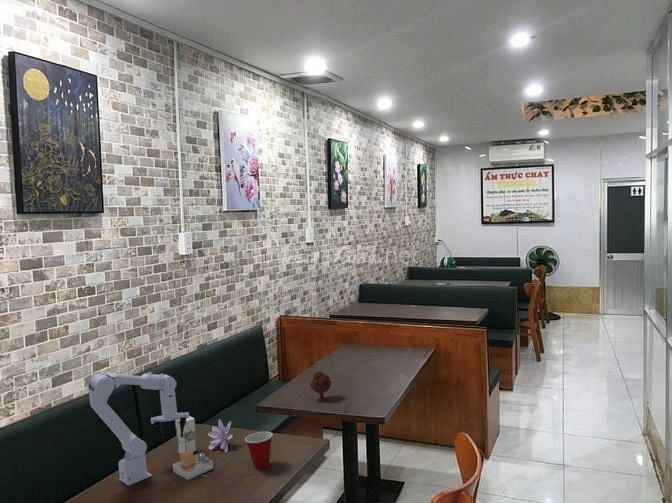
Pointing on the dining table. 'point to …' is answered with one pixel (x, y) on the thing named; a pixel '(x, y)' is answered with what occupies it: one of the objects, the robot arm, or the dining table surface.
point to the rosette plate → (194, 467)
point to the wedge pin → (187, 459)
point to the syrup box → (186, 436)
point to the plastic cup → (260, 448)
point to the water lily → (220, 436)
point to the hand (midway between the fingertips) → (172, 438)
